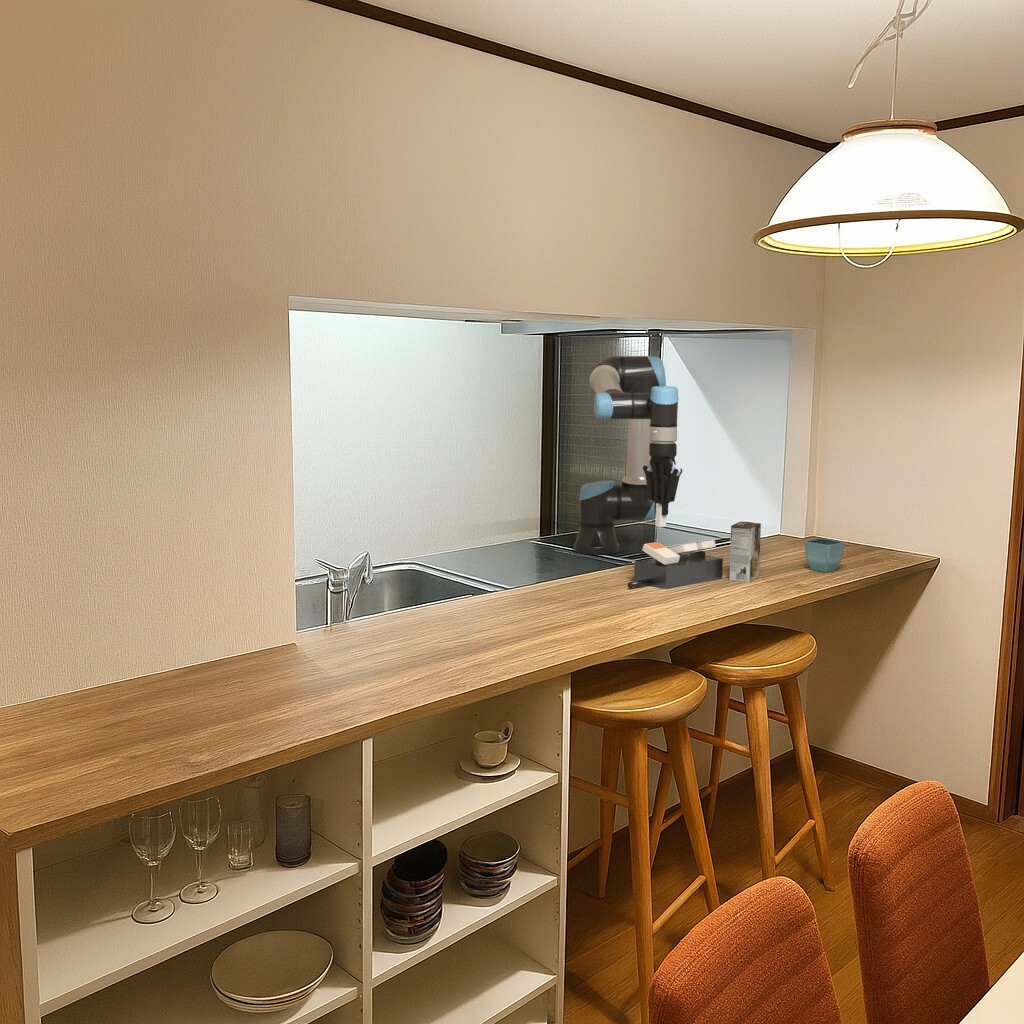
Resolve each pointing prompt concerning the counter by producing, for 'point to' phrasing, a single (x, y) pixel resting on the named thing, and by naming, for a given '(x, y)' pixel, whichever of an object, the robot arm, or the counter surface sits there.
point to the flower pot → (824, 554)
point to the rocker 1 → (661, 553)
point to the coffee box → (745, 551)
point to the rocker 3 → (704, 545)
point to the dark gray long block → (677, 571)
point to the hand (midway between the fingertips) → (660, 526)
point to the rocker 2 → (684, 548)
